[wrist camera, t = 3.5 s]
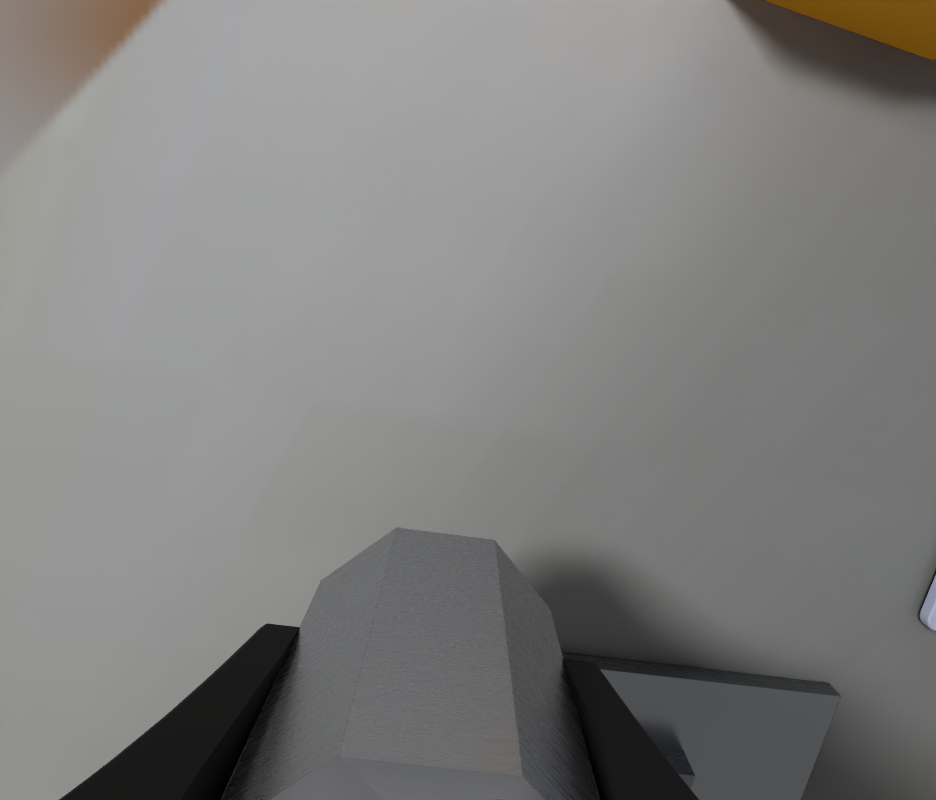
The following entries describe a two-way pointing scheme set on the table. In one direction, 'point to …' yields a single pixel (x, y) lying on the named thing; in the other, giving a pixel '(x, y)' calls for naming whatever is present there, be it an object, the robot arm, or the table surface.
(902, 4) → the yellow curved piece
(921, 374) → the table surface
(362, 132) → the table surface
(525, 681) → the tube
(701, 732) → the grey square base plate
